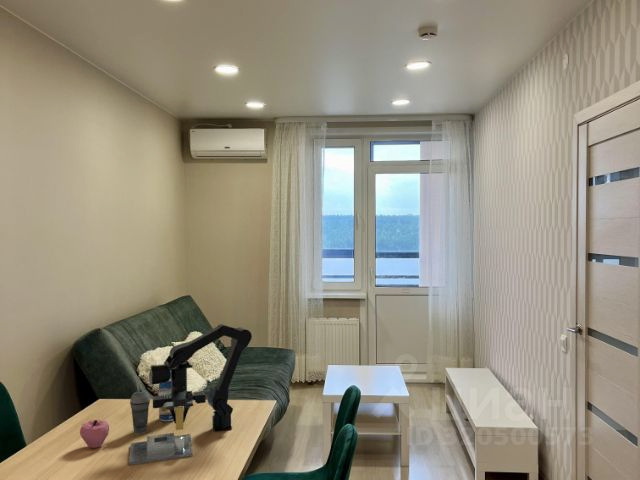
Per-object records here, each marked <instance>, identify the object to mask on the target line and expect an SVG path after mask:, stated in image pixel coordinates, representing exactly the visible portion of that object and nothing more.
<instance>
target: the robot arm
mask: <svg viewBox="0 0 640 480" xmlns="http://www.w3.org/2000/svg"><path fill="white" fill-rule="evenodd" d="M222 337H228V338H230V339H231V340H230V350H229V353H228V356H227V358H226V361H225V363H224V365H223V368H222V372H220V373H221V374H220V376H219V379H218V381H217V383H216V385H214V387H213V386H210V388H209V392H208V394H207V395H206V394H205V392H204V391H195V392H193V390H188V369H192V368H193V365H192V364H191V363H190V362H189V361H188V360H190V359H191V358H192V357H193V356H194V355H195V354H196V353H197V352H198V351H200V350H201V349H203V348H205V347H207V346H208V345H210V344H212V343H213V342H215V341H218V340H219V339H221V338H222ZM252 337H253V335H252V332H251V331H250V330H249V329H247V328H244V327H237V328H236V327H234V326H233V327H232V326H229V325H227V324H226V325H225V324H224V323H220V324H218V325H217V326H215V327H213V328H212V329H210V330H208V331H206V332H204V333H202V334H201V335H200V336H198V337H196V338H194V339H192V340H190V341H186V342H182V343H180V344H177V345H174V346H173V347H171V348H170V350H169V355H168V356H167V358H165V361H164V362H163V364H153V365H150V369H149V373H148V379H149V384H150V386H154V385H159V384H161V383H167V381H169V379H170V370H171V398H164V396H159V395H156V396H153V397H152V409H159V408H162V407H163V406H164V404H165V407H166V409H169V410H170V412H171V414H172V417H173V420H174V421H173V422H174V424H175V425H176V417H175V410H174V407H178V406H183V424H184V423H185V421H186V419H187V415H188V412H189V410H190V408H191V407H193V406H194V403H196V404H204V403H208V405H209V407H211V408H212V410H213V415H212V416H211V417H212V419H211V422H212V424H211V425H212V428H213V430H214V432H222V431H228V430H233V426H232V413H233V411H234V408H233V407H232V406H231V405H230V404H229V403H228V401H229V392H230V390H229V388H230V386H231V383H232V380H233V377H234V375H235V372H236V371H237V368H238V364H239V362H240V359H241V356H242V354H243V352H244V351H245V350H246V349H247V348H248V346H249V345H250V343H251V341H252V340H253V339H252ZM206 397H207V399H206ZM206 400H207V401H206Z"/></svg>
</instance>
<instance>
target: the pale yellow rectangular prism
mask: <svg viewBox="0 0 640 480" xmlns="http://www.w3.org/2000/svg"><path fill="white" fill-rule="evenodd" d="M183 410H184V406H178V407H176V424H175V430H176V431H179V430H184V423H183Z"/></svg>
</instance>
